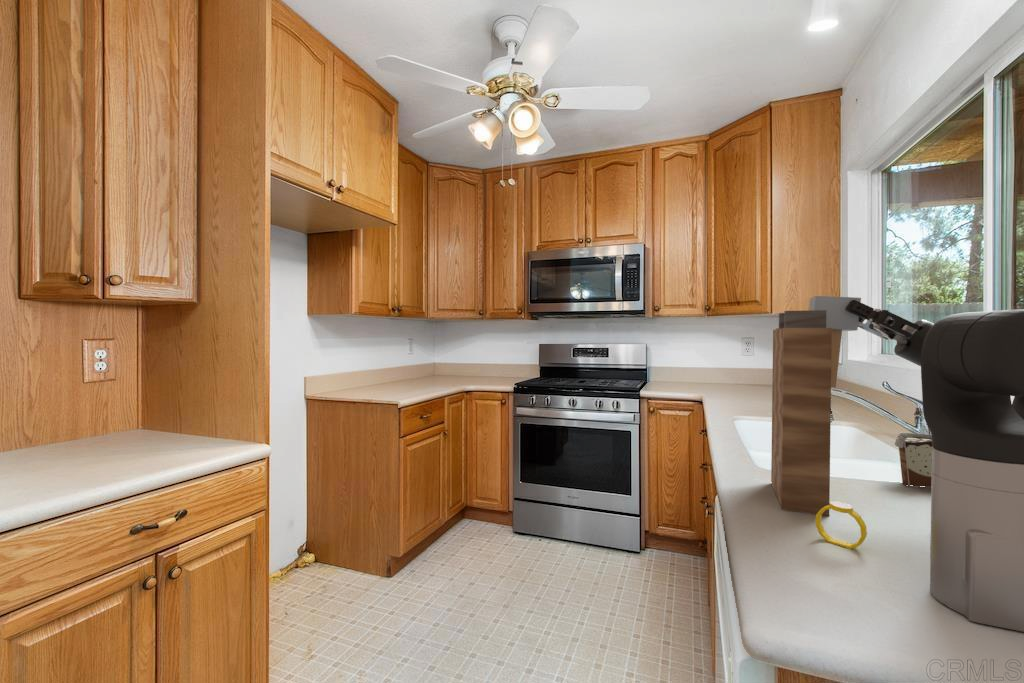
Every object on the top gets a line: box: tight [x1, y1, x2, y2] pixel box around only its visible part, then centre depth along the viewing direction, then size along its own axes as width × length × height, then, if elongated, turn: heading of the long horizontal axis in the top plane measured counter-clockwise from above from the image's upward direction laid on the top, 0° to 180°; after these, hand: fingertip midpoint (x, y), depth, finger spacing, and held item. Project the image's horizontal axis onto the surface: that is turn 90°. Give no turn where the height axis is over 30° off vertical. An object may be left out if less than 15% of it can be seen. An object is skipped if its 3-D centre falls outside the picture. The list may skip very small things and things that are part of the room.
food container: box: [894, 432, 932, 488], centre depth 95 cm, size 12×6×10 cm, turn 84°
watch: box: [815, 500, 868, 550], centre depth 66 cm, size 6×3×6 cm, turn 38°
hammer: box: [808, 295, 862, 388], centre depth 87 cm, size 6×17×7 cm
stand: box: [770, 309, 832, 517], centre depth 85 cm, size 16×7×35 cm, turn 156°
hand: (842, 305), depth 87 cm, fingers open, 8 cm apart
